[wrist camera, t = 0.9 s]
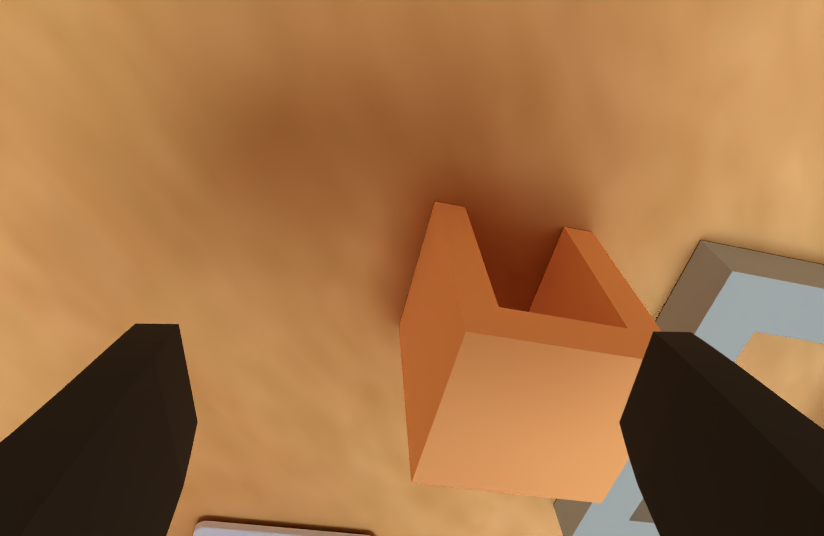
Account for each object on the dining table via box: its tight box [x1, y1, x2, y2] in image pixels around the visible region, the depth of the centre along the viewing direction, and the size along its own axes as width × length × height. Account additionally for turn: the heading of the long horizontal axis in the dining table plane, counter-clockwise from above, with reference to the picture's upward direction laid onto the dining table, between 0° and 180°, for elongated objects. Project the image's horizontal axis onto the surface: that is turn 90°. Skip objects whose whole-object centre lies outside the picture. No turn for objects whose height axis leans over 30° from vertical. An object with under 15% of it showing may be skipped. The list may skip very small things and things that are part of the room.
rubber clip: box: [399, 201, 662, 503], centre depth 17 cm, size 5×5×7 cm
